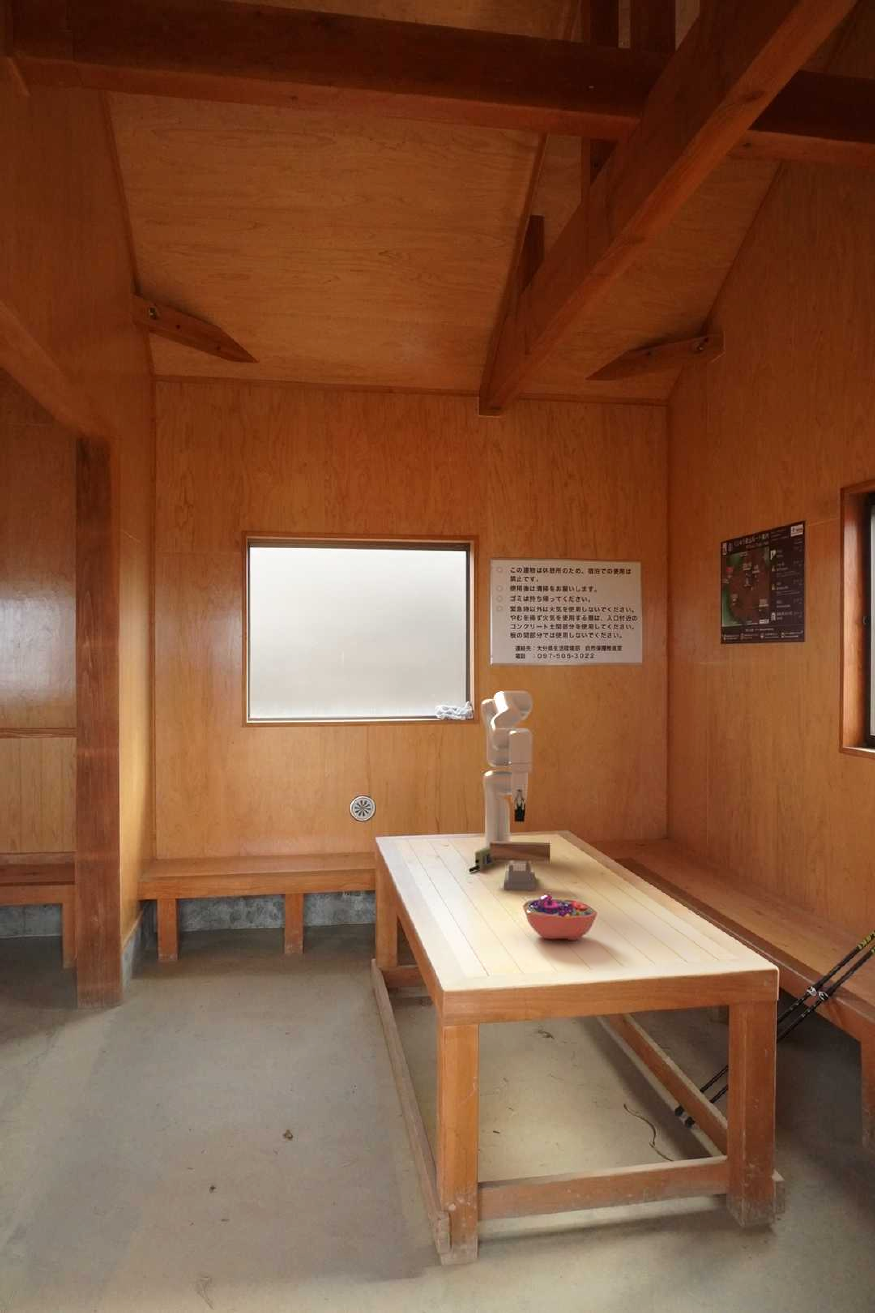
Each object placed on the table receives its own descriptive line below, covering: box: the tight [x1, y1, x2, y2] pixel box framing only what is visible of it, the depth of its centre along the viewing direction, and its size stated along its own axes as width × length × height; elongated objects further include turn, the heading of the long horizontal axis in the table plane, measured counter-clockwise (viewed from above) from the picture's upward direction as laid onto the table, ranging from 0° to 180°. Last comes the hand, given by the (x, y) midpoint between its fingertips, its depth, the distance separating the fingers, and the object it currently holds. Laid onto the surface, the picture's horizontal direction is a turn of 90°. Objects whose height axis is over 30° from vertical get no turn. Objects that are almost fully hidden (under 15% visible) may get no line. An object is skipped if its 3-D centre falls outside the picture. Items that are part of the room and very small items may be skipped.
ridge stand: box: [503, 860, 536, 892], centre depth 276 cm, size 16×10×8 cm, turn 173°
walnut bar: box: [490, 841, 551, 863], centre depth 276 cm, size 4×20×6 cm, turn 83°
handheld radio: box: [468, 846, 503, 873], centre depth 300 cm, size 7×3×25 cm
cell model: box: [522, 893, 598, 941], centre depth 222 cm, size 17×20×11 cm
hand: (519, 818), depth 276 cm, fingers open, 9 cm apart
